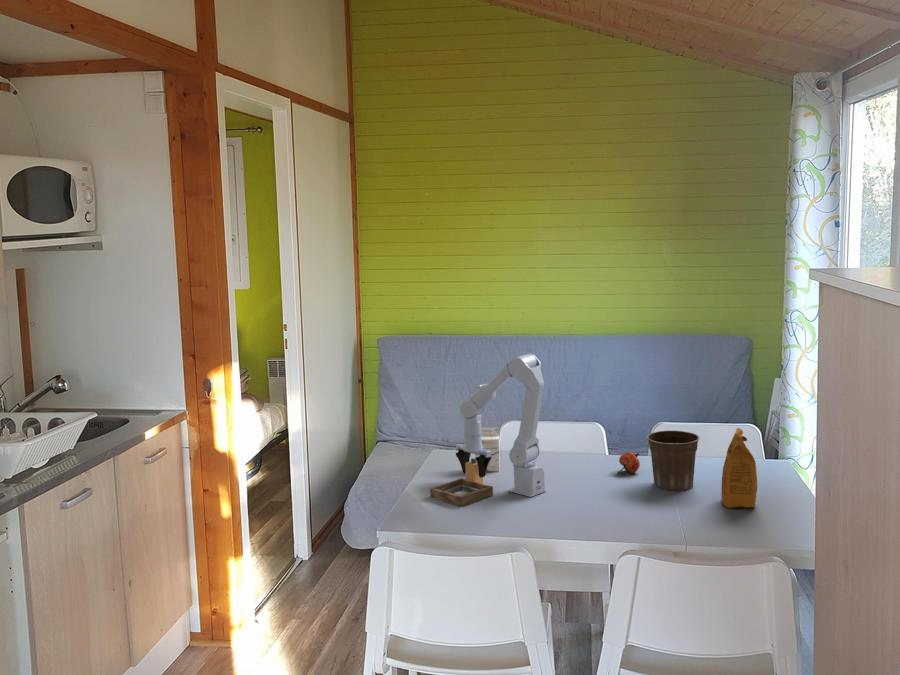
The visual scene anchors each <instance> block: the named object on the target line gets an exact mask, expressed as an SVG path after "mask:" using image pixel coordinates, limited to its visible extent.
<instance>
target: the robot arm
mask: <svg viewBox="0 0 900 675" xmlns="http://www.w3.org/2000/svg"><path fill="white" fill-rule="evenodd" d="M503 365H504V366H502V368H501V369H500V370H499V372H497V374H496V375H495V376H494V377H493V378H492V379H491V380H490V382H489V383H483V384H479V385H478V386H477V389H476V390H475V391H474V393H473V394H470V395H469V396H468V399H467V400H463V401H462V402H461V403H460V406H459V412H460V414H461V416H463V436H464V440H463V441H464V442H463V443H458V444H456V445H455V450H456V451H458V452H455V456H456V457H457V459H458V462H459V464H460V467H461V470H462V473H463V474H466V467H465V463H467V462H470V461H471V454H474V455H475V454H477V455H480V456H479V457H476V461H477V464H478V469H479V477H483V478H484V477H486V474H487V473H486V472H487V471H486V470H487V466H488V464H489V462H490V460H491V458H492V456H491V451H490V450H487V449H485V448H483V446H482V438H481V428H482V414H483V413H484V411H485V408H486V407H487V406H488V405H489V404H490V403H491V402H492V401H493V400H494V399H495V398H496V396H497V391H498V389H500V387H502V386H503V385H504V384H505V383H506V382H507V381H508V380H509V379H511V378H514V379H516V380H517V381H518V382H520V383H521V384H522V385H523V386H524V387H525V393H524V397H523V398H524V400H523V406H522V413H521V418H520V422H519V424H520V425H519V431H518V435H517V437H516V438H515V440H514V442H513V445H512V448H511V449H510V451H509V453H508V456H509V460H510V462H511V463H512V466H513V486H514V487H513V488H509V489H508V492H511V493H515V494H518V495H522V496H526V497H530V498H531V497H534V496H537V495H539V494H542V493H545V492H547V489H546V488H545V487H546V486H545V471H544V469H543V468H542V467H540V466H538V465H537V459H538V457H539V455H540V453H541V452H540V451H541V450H540V447H539V442H540V440H539V438H538V437H537V431H538V425H539V424H538V423H539V418H540V411H541V406H542V401H543V400H542V399H543V393H544V388H545V381H544V377H543V374H542V369H541V367H542V363H541V361H540V360H539V359H538V358H537V356H536V355H535V354H534V353H526V354H524V355H520V356H516V357H512V358H511V359H510V360H509V361H507V362H506V363H505V364H503Z"/></svg>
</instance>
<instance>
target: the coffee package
mask: <svg viewBox="0 0 900 675" xmlns="http://www.w3.org/2000/svg"><path fill="white" fill-rule="evenodd" d="M734 432H735V433H734V434H733V436H732V439H731V441H730V443H729V445H728V446H727V451H726V456H725V459H724V463H723V467H722V474H721V475H722V476H721V489H720V490H721V494H720V495H721V501H722V503H723V505H724V506H725V508H728V509H733V508H735V509H736V508H755V507H756V501H757V492H758V473H757V464H756V463H757V462H756V460H755V458H754V455H753V454H752V453H751V452H750V449H749V448H748V447H747V446H746V444H745V442H747V441H748V439H747V437H746V436H744V435H743V433H744V430H742V429H741V427H737V428H736V429H735V431H734Z"/></svg>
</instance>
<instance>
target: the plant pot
mask: <svg viewBox="0 0 900 675" xmlns="http://www.w3.org/2000/svg"><path fill="white" fill-rule="evenodd" d="M646 439H647V441H648V447H649V450H650V457H651V464H652V466H651V467H652V475H653V484H654V487H656V488H658V489H660V490H664V491H672V490H675V491H676V492H677V491H687V490H689V489H692V488H693V487H694V480H695V466H696V465H695V463H696V456H697V451H698V446H699V445H698V444H699V440H700V436H699V435H698V434H696V433H693V432H690V431H685V430H659V431H655V432H651V433H649V434H647V435H646Z"/></svg>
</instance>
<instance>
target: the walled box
mask: <svg viewBox="0 0 900 675" xmlns="http://www.w3.org/2000/svg"><path fill="white" fill-rule="evenodd" d="M429 490H430V498H431V497H432V498H431V499H433V498H435V500H437V499H438V500H437V501H440V500H442V501H441V502H443V501H445V502H444V503H447V502H448V504H450V503H451V504H450V505H454V504H455V505H454V506H457V505H458V506H457V507H460V506H461V508H462V507H465V506H469V505H471V503H472V504H474V503H477V502H479V501H483V500H485V499H487V498H488V499H489V498H491V497H493V496H494V487H493V486H492V485H489V484H484V483H477V482H473V481H470V480H466V478H459V479H456V480H452V481H450V482H447V483H444V484H439V485H437V486H435V487H432V488H430V489H429ZM468 504H469V505H468Z"/></svg>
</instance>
